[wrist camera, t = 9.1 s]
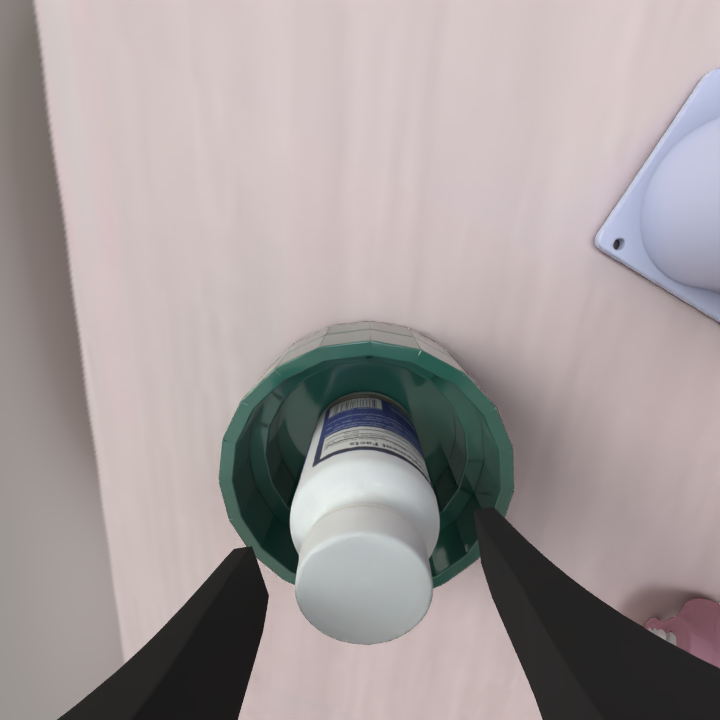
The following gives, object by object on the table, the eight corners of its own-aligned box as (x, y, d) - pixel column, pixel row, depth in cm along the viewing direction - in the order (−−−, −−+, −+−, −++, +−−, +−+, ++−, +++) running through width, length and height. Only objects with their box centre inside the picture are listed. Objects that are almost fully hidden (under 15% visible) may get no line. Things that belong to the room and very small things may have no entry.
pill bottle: (379, 497, 21) (390, 690, 12) (296, 449, 20) (236, 614, 11) (436, 422, 20) (499, 571, 10) (349, 368, 19) (333, 476, 10)
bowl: (524, 389, 20) (575, 432, 15) (406, 558, 23) (417, 639, 18) (315, 275, 18) (298, 283, 14) (219, 470, 21) (176, 533, 17)
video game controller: (651, 561, 24) (686, 647, 18) (739, 605, 23) (811, 717, 16) (584, 671, 27) (594, 779, 21) (658, 718, 25) (693, 851, 19)
